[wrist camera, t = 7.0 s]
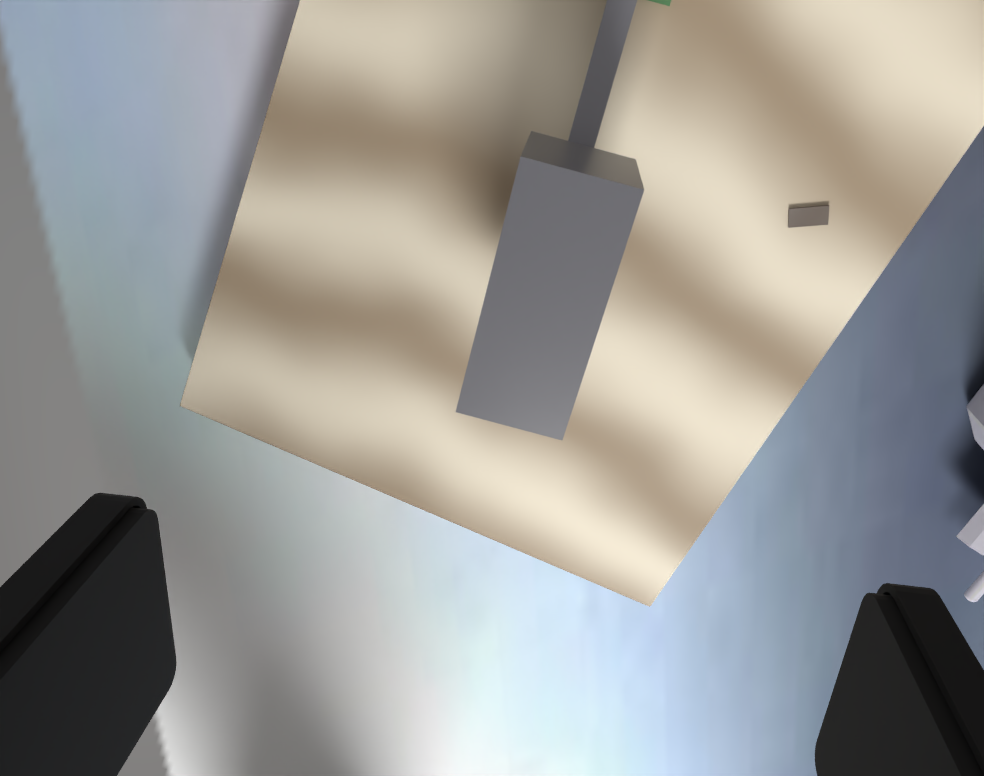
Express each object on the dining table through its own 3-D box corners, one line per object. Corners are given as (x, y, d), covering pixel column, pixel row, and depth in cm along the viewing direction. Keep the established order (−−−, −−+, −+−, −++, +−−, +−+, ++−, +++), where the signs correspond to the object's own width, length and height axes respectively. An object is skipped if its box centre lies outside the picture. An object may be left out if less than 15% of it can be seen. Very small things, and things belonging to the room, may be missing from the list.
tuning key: (568, 345, 29) (562, 440, 22) (484, 322, 29) (455, 411, 22) (692, -54, 23) (729, -72, 17) (588, -83, 23) (588, -111, 17)
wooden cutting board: (646, 575, 35) (650, 608, 33) (201, 383, 33) (177, 407, 31) (1034, 2, 25) (1070, 2, 23) (417, -319, 23) (401, -348, 21)
